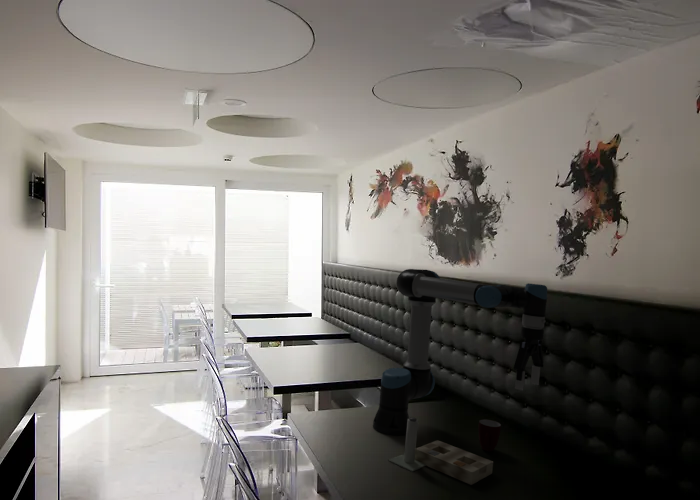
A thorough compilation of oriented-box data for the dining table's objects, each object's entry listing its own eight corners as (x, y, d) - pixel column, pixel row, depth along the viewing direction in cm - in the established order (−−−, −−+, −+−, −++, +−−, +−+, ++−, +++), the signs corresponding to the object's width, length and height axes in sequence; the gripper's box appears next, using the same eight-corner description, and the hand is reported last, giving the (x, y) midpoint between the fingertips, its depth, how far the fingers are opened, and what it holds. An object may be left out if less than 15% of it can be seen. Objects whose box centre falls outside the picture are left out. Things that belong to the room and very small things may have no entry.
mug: (498, 458, 181) (501, 430, 181) (476, 453, 183) (478, 426, 183) (498, 447, 191) (500, 421, 191) (476, 443, 193) (479, 418, 193)
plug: (401, 460, 170) (405, 417, 170) (407, 458, 172) (411, 416, 172) (410, 464, 167) (414, 421, 167) (416, 461, 170) (420, 419, 170)
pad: (388, 460, 170) (388, 459, 170) (405, 454, 177) (405, 452, 177) (412, 471, 163) (412, 470, 163) (429, 464, 170) (429, 462, 170)
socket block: (414, 460, 172) (415, 448, 172) (436, 451, 182) (437, 439, 182) (471, 485, 157) (472, 471, 157) (492, 473, 167) (493, 460, 167)
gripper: (528, 331, 166) (522, 394, 166) (556, 327, 184) (550, 384, 184) (507, 327, 171) (501, 389, 171) (536, 324, 189) (530, 379, 189)
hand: (527, 386), depth 178 cm, fingers open, 13 cm apart
